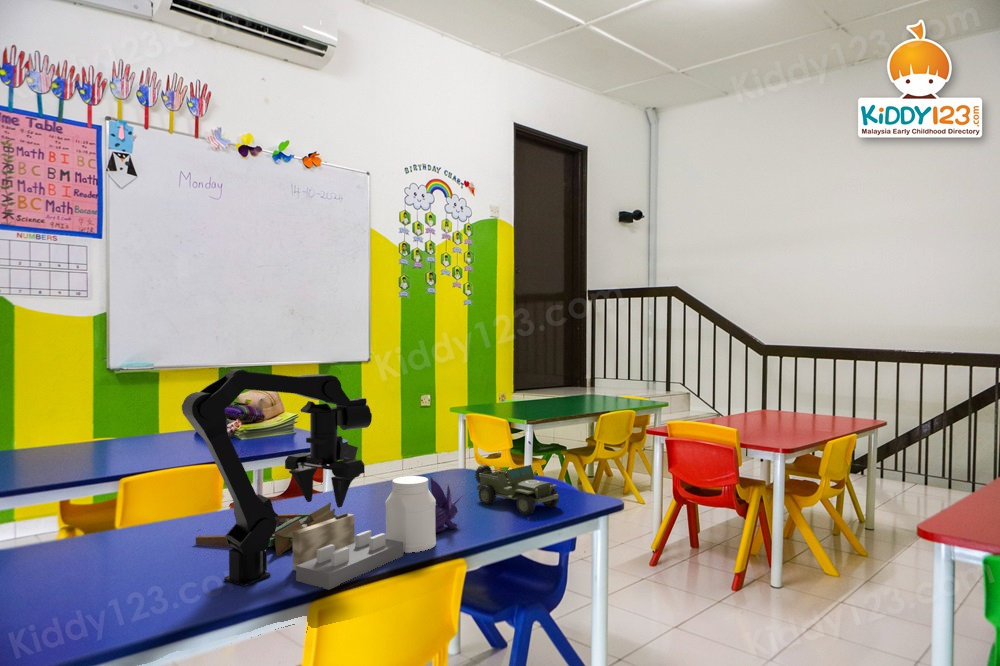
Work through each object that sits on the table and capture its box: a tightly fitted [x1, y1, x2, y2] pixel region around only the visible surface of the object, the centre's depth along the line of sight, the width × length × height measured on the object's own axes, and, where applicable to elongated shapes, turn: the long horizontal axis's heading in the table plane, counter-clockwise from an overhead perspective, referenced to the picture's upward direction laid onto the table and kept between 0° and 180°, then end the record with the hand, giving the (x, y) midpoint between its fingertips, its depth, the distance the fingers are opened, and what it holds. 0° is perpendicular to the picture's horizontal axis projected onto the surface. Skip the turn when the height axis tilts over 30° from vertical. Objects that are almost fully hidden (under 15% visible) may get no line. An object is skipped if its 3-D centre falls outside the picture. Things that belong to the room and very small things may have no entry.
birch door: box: [292, 512, 356, 572], centre depth 143 cm, size 16×2×9 cm, turn 149°
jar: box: [384, 475, 437, 554], centre depth 152 cm, size 12×10×15 cm
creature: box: [430, 476, 464, 534], centre depth 165 cm, size 9×18×12 cm, turn 135°
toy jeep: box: [474, 464, 560, 516], centre depth 188 cm, size 12×25×11 cm, turn 45°
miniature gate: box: [195, 502, 337, 557], centre depth 160 cm, size 27×6×30 cm
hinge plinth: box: [295, 529, 404, 591], centre depth 138 cm, size 22×9×6 cm, turn 149°
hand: (324, 504), depth 143 cm, fingers open, 9 cm apart
